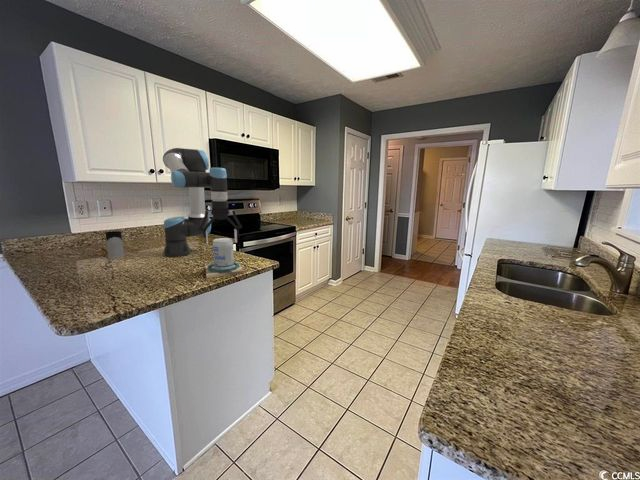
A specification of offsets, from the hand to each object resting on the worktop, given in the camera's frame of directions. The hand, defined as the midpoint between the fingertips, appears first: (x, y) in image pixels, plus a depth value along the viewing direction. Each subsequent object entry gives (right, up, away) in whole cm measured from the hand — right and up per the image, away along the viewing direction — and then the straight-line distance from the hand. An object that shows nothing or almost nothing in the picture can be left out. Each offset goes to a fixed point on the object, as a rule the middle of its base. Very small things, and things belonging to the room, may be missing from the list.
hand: (222, 242), depth 133 cm
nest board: (0, -14, +3) cm, 15 cm away
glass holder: (-76, -8, +30) cm, 82 cm away
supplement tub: (0, -13, +2) cm, 13 cm away
